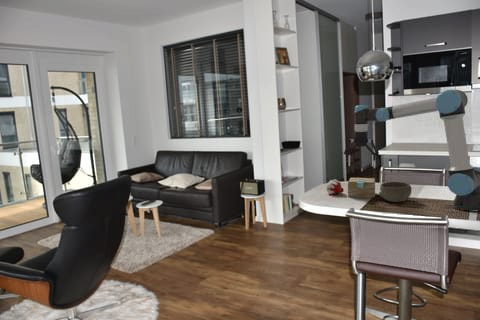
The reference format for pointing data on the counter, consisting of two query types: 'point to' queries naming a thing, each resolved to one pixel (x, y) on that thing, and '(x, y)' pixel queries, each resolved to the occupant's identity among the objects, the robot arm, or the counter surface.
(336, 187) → the red and white lump
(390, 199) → the bowl
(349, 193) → the carton
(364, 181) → the flap
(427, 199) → the counter surface
